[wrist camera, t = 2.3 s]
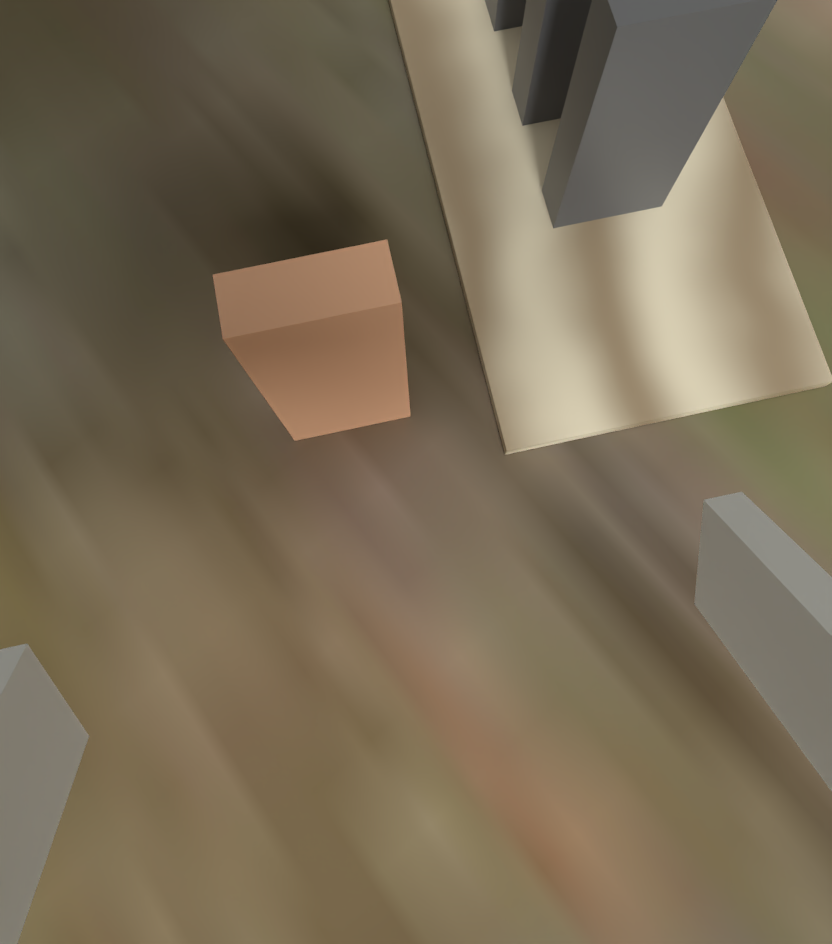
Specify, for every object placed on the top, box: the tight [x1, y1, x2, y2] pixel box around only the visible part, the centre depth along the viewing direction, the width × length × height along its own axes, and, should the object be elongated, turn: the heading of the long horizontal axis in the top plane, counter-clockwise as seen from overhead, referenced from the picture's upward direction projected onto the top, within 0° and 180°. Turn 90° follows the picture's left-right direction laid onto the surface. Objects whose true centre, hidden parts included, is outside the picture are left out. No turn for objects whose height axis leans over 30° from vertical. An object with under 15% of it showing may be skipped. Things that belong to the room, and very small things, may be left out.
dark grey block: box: [542, 0, 777, 228], centre depth 24 cm, size 2×5×10 cm, turn 102°
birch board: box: [388, 0, 832, 455], centre depth 30 cm, size 14×25×1 cm, turn 12°
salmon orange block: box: [213, 240, 410, 441], centre depth 23 cm, size 2×5×10 cm, turn 102°
